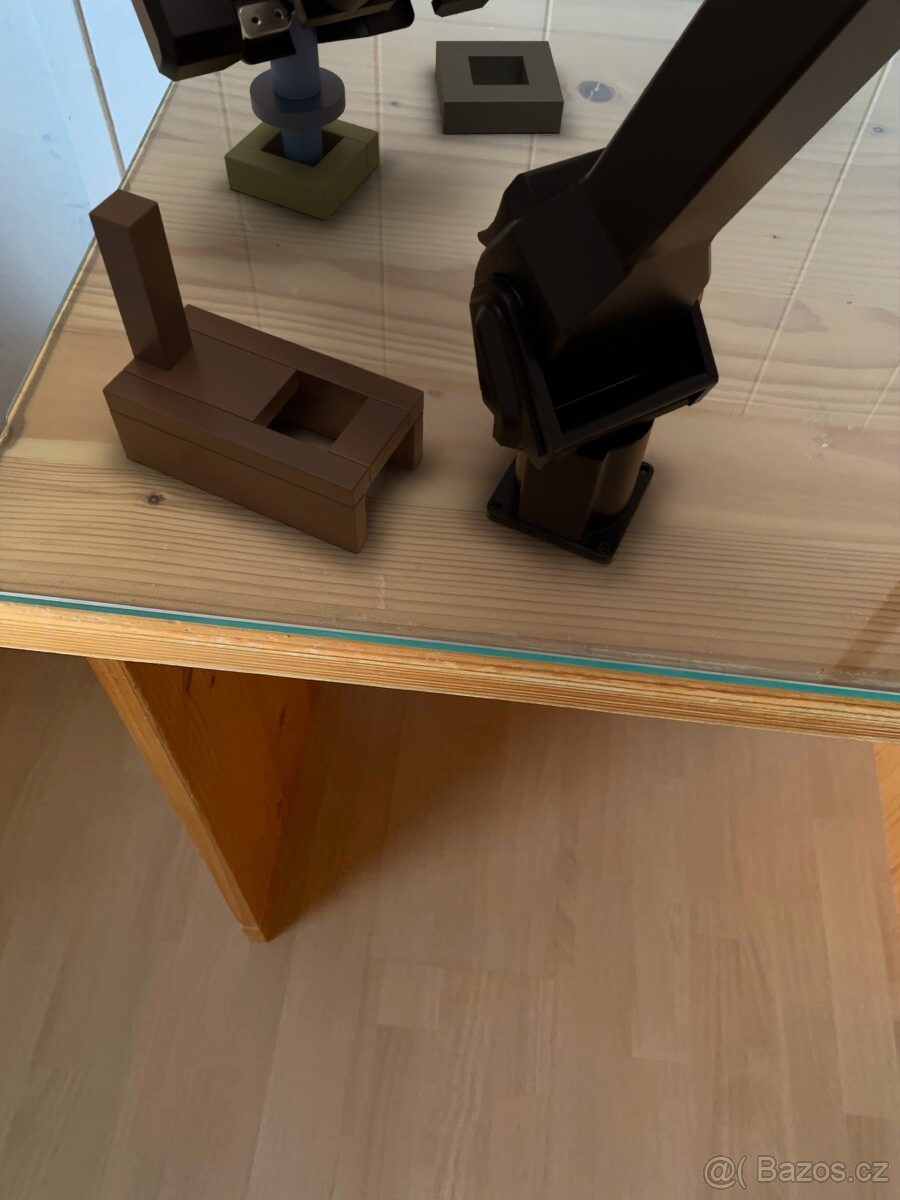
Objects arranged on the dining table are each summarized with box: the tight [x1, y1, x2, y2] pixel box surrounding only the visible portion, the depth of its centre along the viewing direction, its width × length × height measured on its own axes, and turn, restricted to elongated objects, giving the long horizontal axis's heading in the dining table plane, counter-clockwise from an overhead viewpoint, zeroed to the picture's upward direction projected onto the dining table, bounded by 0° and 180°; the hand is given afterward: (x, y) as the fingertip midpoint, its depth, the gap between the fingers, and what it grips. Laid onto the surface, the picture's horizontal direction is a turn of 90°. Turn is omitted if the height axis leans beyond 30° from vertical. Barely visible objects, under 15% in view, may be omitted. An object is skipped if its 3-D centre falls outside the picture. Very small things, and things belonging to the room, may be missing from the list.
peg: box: [248, 13, 347, 168], centre depth 55 cm, size 6×6×10 cm
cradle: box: [223, 118, 380, 221], centre depth 59 cm, size 7×7×2 cm
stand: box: [88, 188, 425, 554], centre depth 42 cm, size 7×13×12 cm, turn 64°
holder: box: [434, 40, 565, 134], centre depth 65 cm, size 8×8×2 cm
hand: (284, 40), depth 54 cm, fingers closed on peg, 3 cm apart
